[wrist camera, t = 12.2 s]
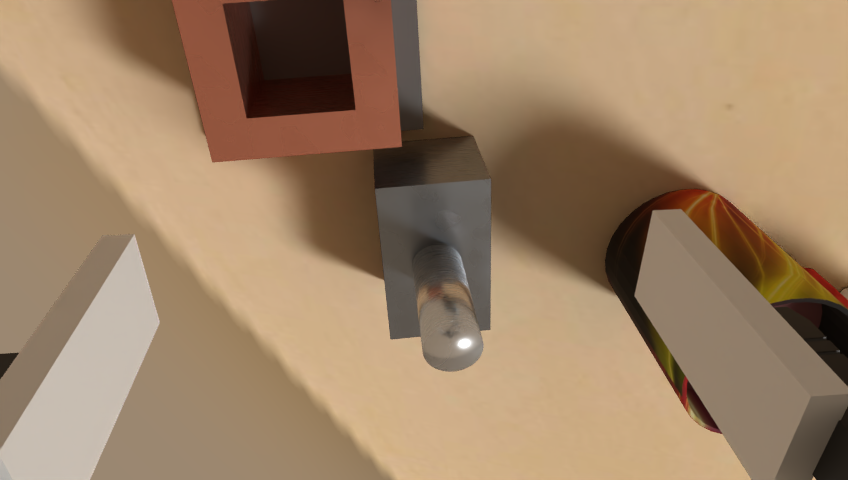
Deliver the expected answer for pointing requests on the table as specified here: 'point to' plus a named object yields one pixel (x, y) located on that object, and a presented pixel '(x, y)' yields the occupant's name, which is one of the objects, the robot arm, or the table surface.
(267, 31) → the mat
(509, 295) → the table surface
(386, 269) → the toggle switch
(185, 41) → the red square hollow block
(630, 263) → the mug
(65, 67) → the table surface
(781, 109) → the table surface
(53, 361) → the robot arm
